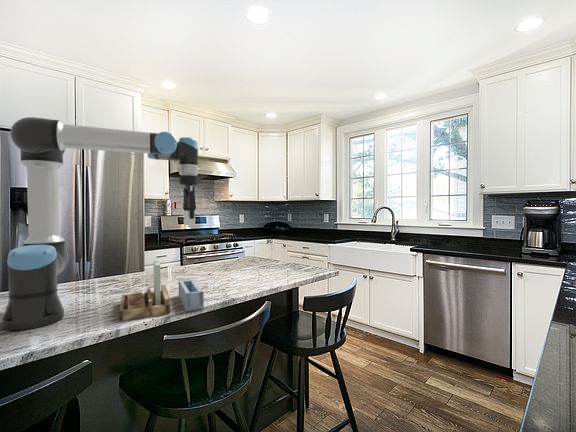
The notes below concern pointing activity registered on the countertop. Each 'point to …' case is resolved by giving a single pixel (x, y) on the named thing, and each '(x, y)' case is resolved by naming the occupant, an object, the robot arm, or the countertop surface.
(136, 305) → the offcut oak
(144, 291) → the offcut pine
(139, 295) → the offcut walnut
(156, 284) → the sheet
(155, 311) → the rack
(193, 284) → the stand
